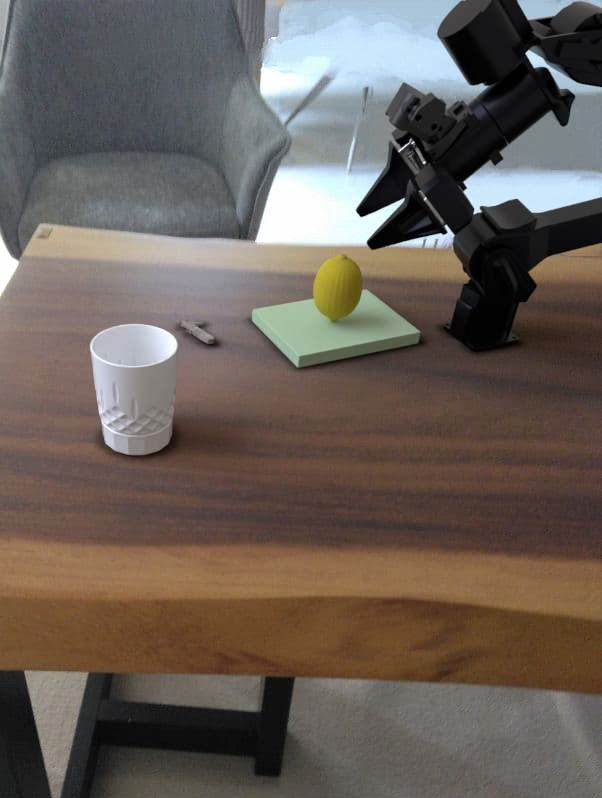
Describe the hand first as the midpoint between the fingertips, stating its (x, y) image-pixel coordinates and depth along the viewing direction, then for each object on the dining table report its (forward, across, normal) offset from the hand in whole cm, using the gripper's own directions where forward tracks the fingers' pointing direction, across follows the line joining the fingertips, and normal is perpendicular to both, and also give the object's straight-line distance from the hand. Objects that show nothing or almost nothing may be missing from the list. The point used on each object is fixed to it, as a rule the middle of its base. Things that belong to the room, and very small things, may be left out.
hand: (363, 229), depth 86 cm
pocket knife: (+21, +1, -4) cm, 21 cm away
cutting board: (+10, 0, +8) cm, 12 cm away
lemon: (+9, 0, +6) cm, 11 cm away
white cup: (+25, +23, -8) cm, 35 cm away
